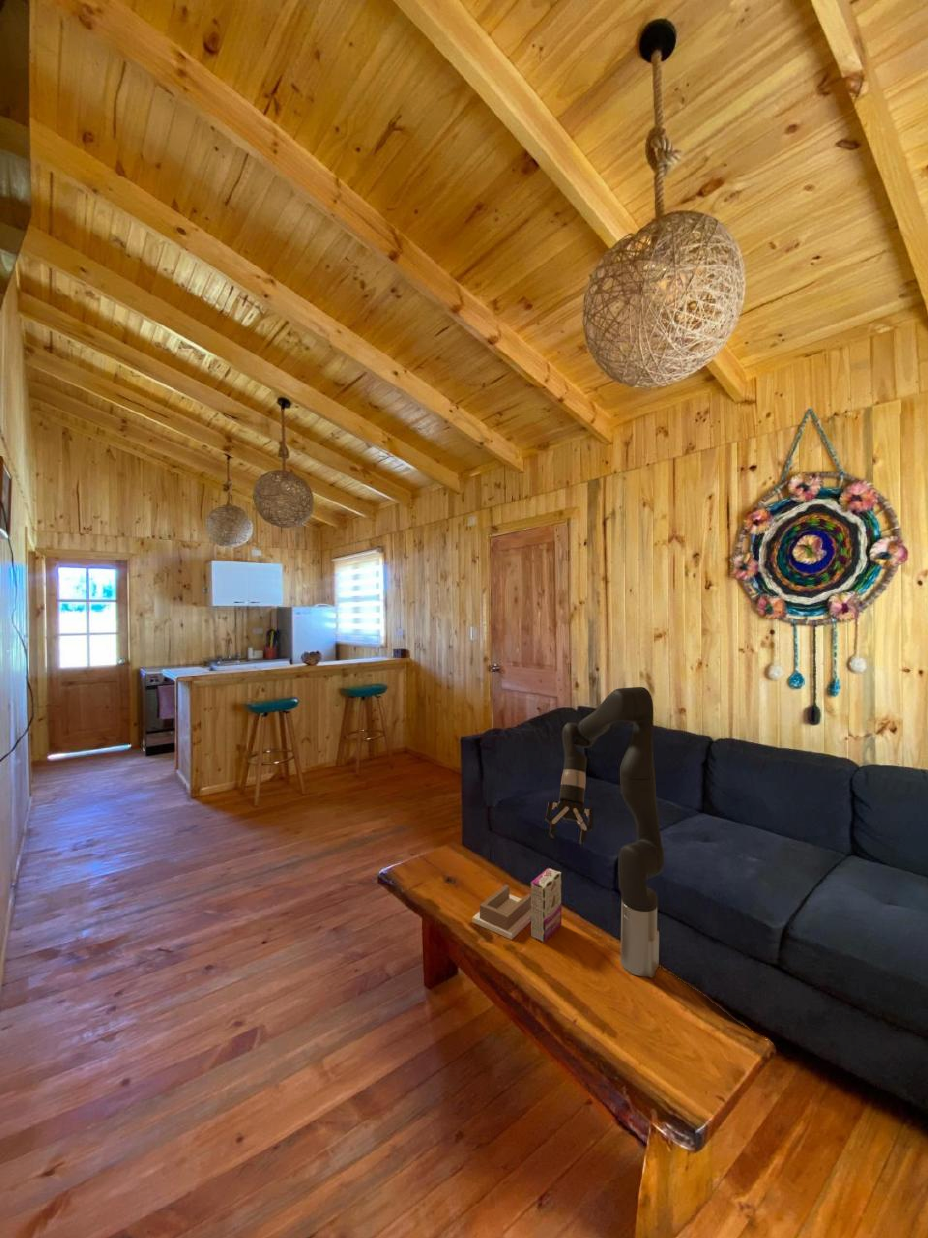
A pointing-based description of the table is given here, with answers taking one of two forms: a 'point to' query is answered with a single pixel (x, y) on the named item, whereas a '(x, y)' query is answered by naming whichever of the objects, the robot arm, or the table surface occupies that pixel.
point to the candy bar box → (545, 904)
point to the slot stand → (504, 913)
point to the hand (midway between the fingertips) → (567, 841)
